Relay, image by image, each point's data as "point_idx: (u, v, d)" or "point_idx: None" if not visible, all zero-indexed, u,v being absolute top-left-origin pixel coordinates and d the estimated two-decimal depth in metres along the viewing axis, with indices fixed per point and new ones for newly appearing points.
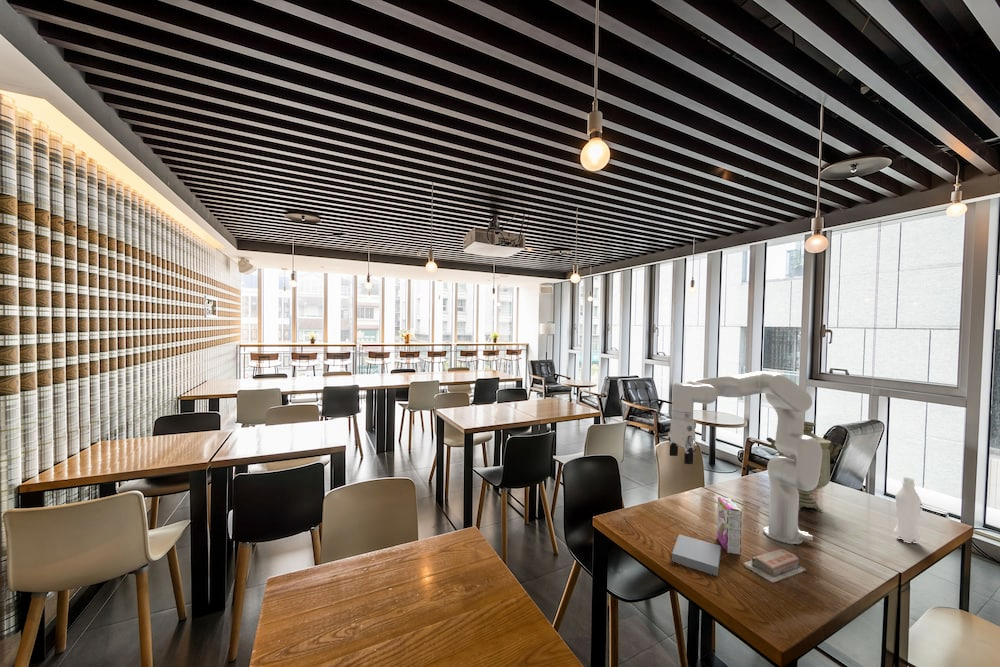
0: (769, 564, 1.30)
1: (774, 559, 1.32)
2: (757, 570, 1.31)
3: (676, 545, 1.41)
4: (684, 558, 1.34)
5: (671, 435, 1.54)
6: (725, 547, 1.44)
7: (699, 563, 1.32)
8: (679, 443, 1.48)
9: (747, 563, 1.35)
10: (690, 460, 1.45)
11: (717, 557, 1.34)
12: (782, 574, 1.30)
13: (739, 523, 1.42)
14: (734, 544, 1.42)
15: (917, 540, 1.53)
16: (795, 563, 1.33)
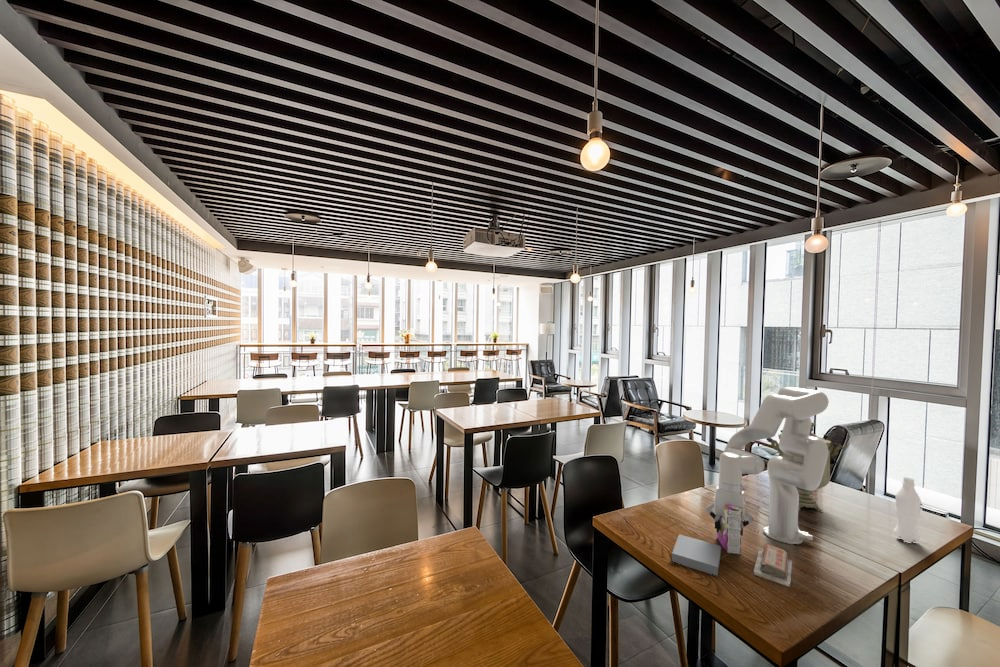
0: (779, 567, 1.28)
1: (777, 560, 1.32)
2: (769, 576, 1.28)
3: (676, 545, 1.41)
4: (684, 558, 1.34)
5: (719, 508, 1.48)
6: (725, 547, 1.44)
7: (699, 563, 1.32)
8: None
9: (756, 570, 1.31)
10: (742, 533, 1.45)
11: (717, 557, 1.34)
12: (787, 573, 1.30)
13: (739, 523, 1.42)
14: (734, 544, 1.42)
15: (917, 540, 1.53)
16: None
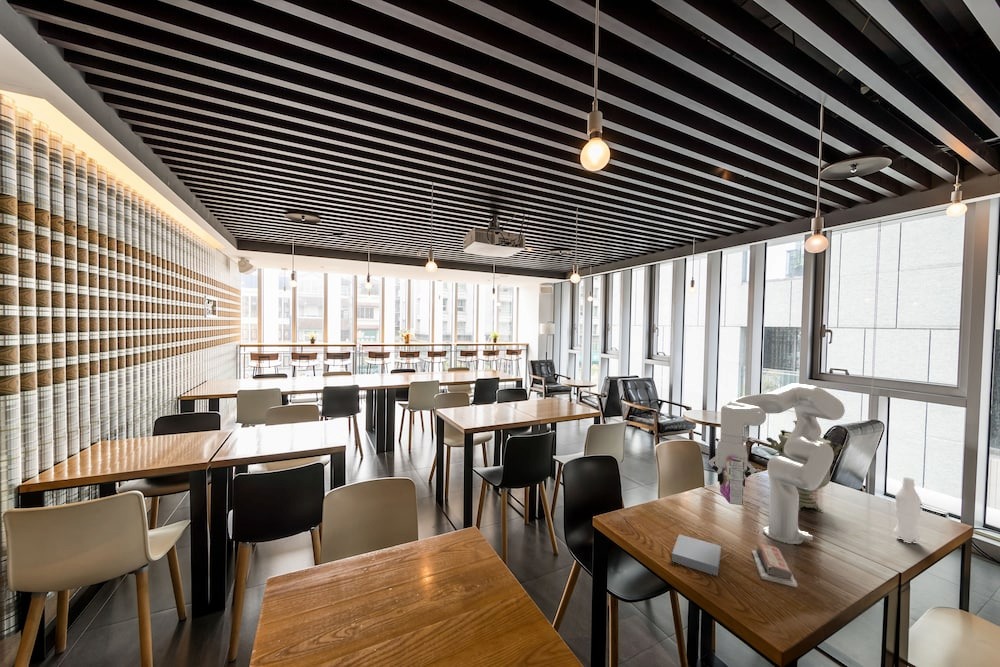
0: (785, 568, 1.28)
1: (778, 560, 1.32)
2: (777, 579, 1.27)
3: (676, 545, 1.41)
4: (684, 558, 1.34)
5: (721, 461, 1.48)
6: (727, 498, 1.45)
7: (699, 563, 1.32)
8: None
9: (763, 574, 1.29)
10: None
11: (717, 557, 1.34)
12: None
13: (741, 474, 1.42)
14: (736, 494, 1.42)
15: (917, 540, 1.53)
16: None
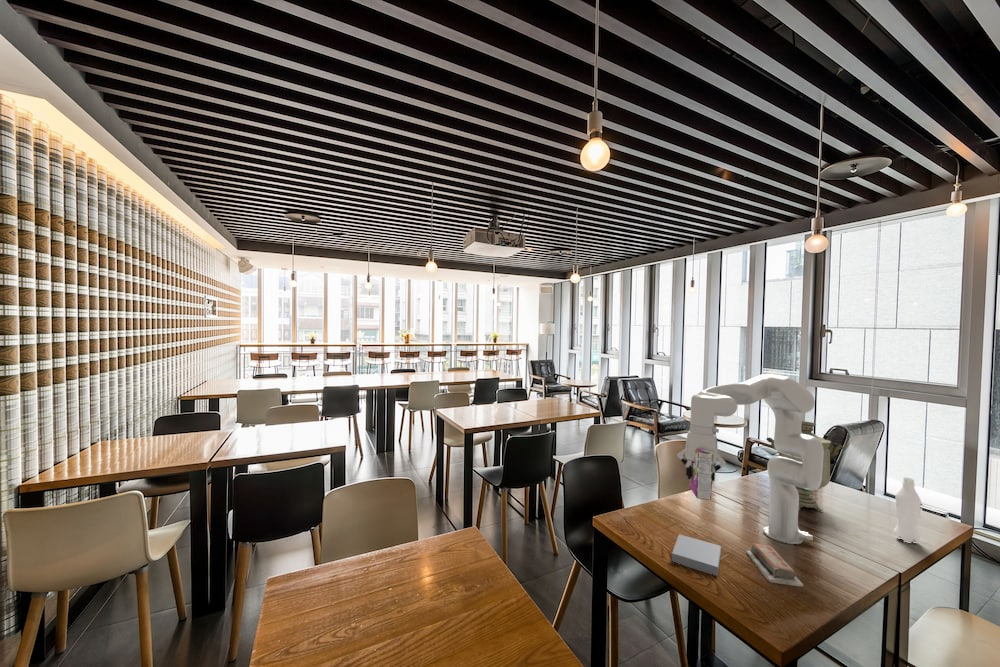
0: (789, 568, 1.28)
1: (779, 560, 1.32)
2: (783, 580, 1.26)
3: (676, 545, 1.41)
4: (684, 558, 1.34)
5: (690, 453, 1.39)
6: (695, 493, 1.36)
7: (699, 563, 1.32)
8: None
9: (770, 577, 1.27)
10: (714, 478, 1.37)
11: (717, 557, 1.34)
12: None
13: (710, 466, 1.34)
14: (704, 489, 1.34)
15: (917, 540, 1.53)
16: None
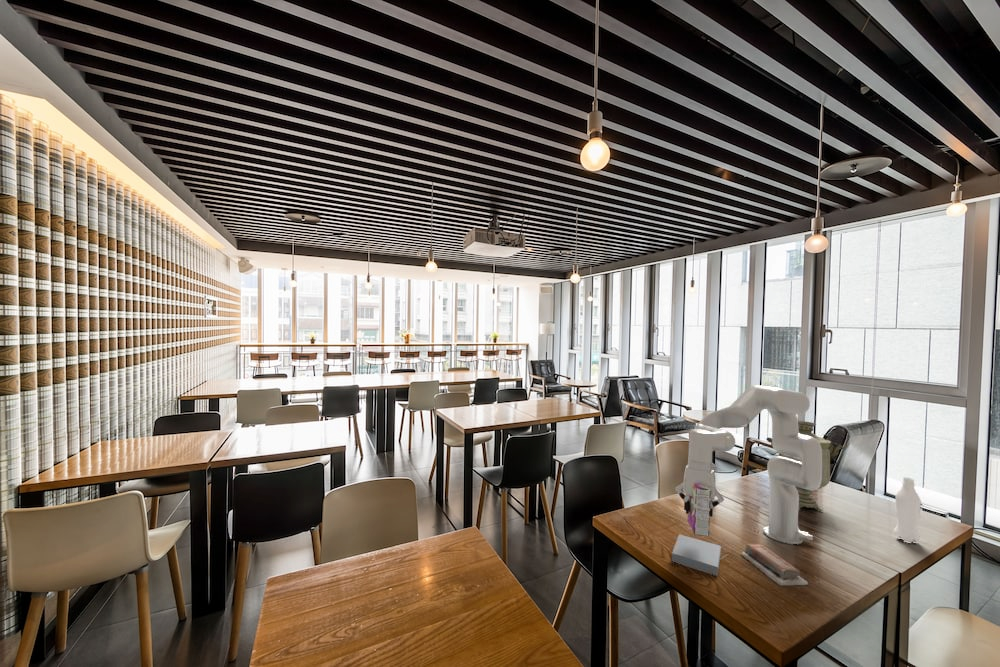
0: (793, 568, 1.28)
1: (780, 559, 1.32)
2: (791, 581, 1.26)
3: (676, 545, 1.41)
4: (684, 558, 1.34)
5: (688, 488, 1.39)
6: (693, 529, 1.36)
7: (699, 563, 1.32)
8: None
9: (780, 580, 1.26)
10: (712, 514, 1.37)
11: (717, 557, 1.34)
12: None
13: (708, 503, 1.33)
14: (702, 525, 1.34)
15: (917, 540, 1.53)
16: None
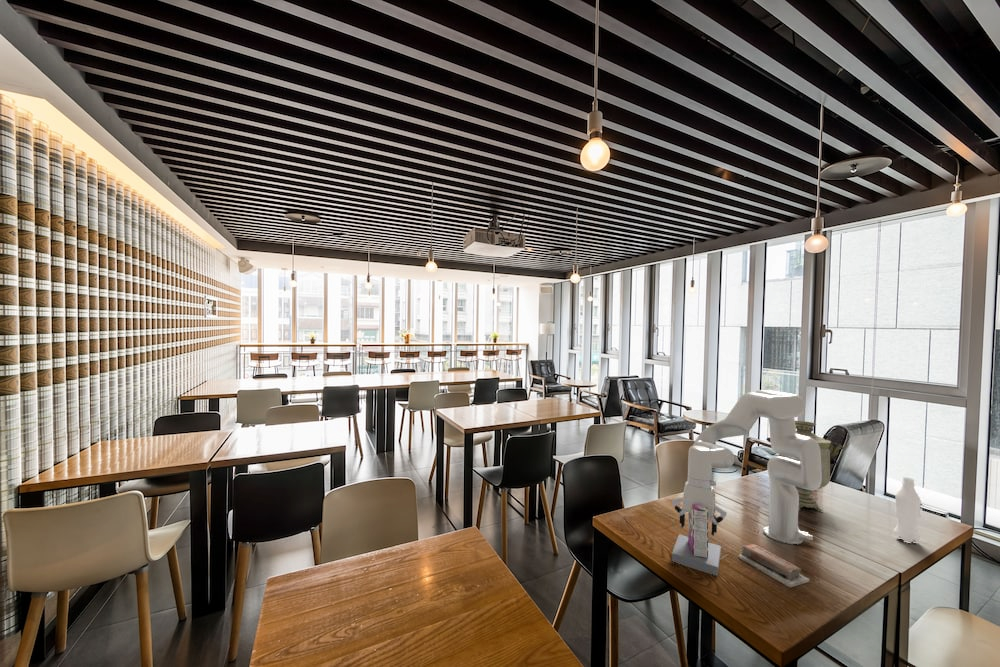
0: (795, 566, 1.29)
1: (780, 559, 1.33)
2: (797, 581, 1.26)
3: (676, 545, 1.41)
4: (684, 558, 1.34)
5: (687, 505, 1.39)
6: (692, 550, 1.36)
7: (699, 563, 1.32)
8: None
9: (789, 582, 1.25)
10: (716, 530, 1.36)
11: (717, 557, 1.34)
12: None
13: (706, 524, 1.33)
14: (701, 546, 1.34)
15: (917, 540, 1.53)
16: None
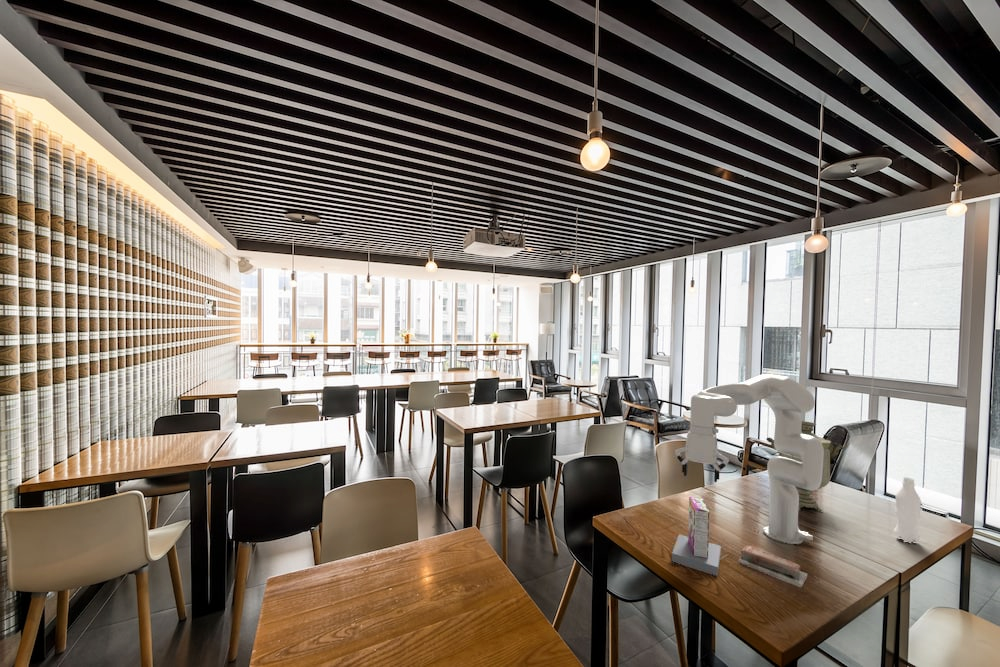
0: (796, 564, 1.31)
1: (780, 558, 1.33)
2: (802, 579, 1.27)
3: (676, 545, 1.41)
4: (684, 558, 1.34)
5: (690, 454, 1.39)
6: (692, 550, 1.36)
7: (699, 563, 1.32)
8: (707, 461, 1.37)
9: (798, 582, 1.25)
10: None
11: (717, 557, 1.34)
12: None
13: (706, 525, 1.33)
14: (701, 547, 1.34)
15: (917, 540, 1.53)
16: None
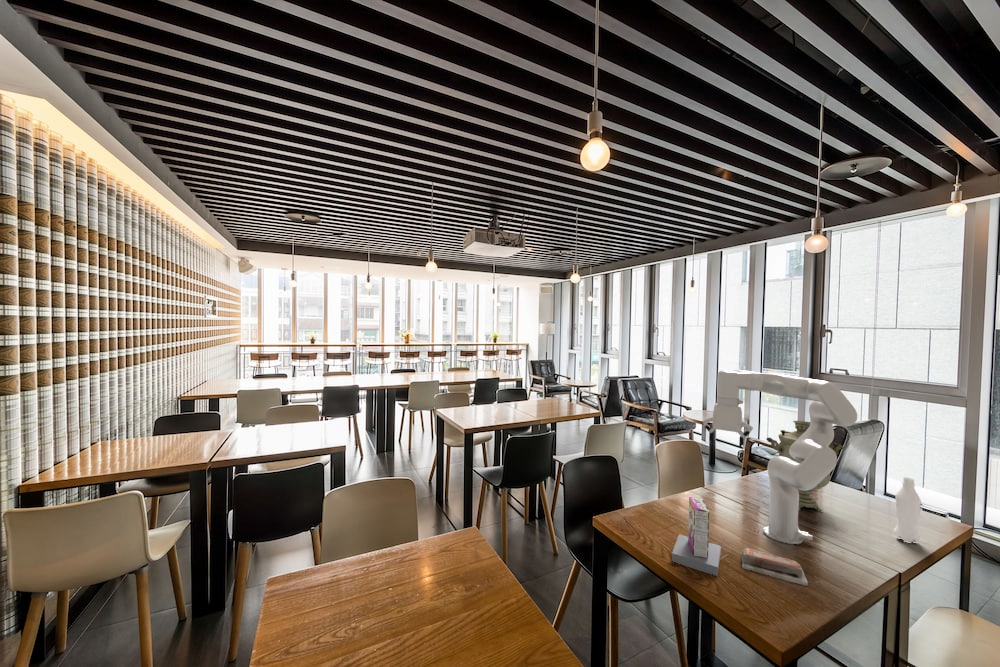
0: (794, 561, 1.32)
1: (779, 557, 1.34)
2: (803, 576, 1.29)
3: (676, 545, 1.41)
4: (684, 558, 1.34)
5: (717, 423, 1.56)
6: (692, 550, 1.36)
7: (699, 563, 1.32)
8: (733, 428, 1.53)
9: (803, 580, 1.26)
10: (743, 443, 1.53)
11: (717, 557, 1.34)
12: None
13: (706, 525, 1.33)
14: (701, 547, 1.34)
15: (917, 540, 1.53)
16: None
